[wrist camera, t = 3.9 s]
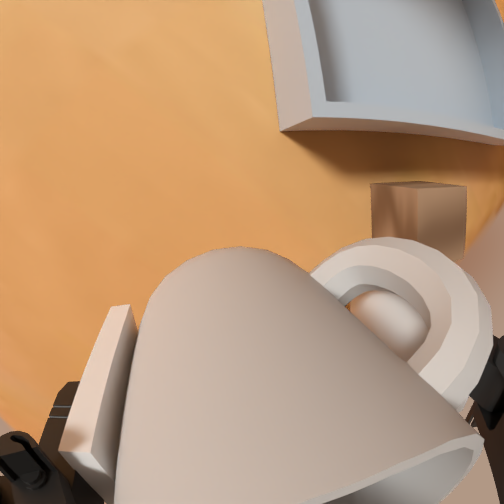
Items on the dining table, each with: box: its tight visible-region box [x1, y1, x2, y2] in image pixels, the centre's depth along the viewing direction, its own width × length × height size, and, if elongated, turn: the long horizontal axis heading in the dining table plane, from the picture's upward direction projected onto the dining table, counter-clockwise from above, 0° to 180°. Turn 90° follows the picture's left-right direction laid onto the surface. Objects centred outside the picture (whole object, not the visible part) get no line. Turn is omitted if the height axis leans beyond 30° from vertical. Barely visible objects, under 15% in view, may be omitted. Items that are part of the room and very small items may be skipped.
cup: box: [114, 237, 493, 504], centre depth 7 cm, size 7×10×9 cm
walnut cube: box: [370, 181, 467, 262], centre depth 18 cm, size 5×5×5 cm
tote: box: [262, 0, 504, 145], centre depth 14 cm, size 20×24×5 cm
